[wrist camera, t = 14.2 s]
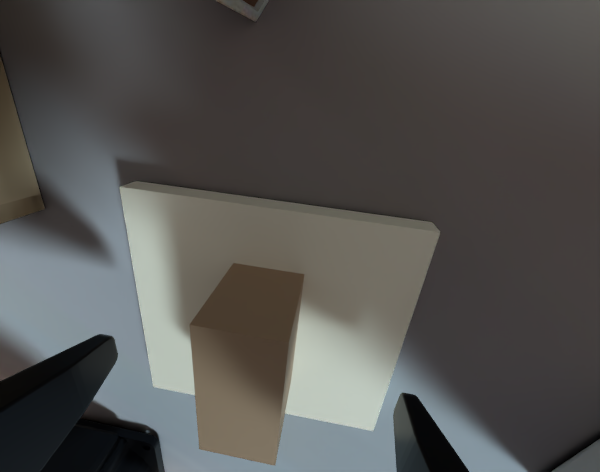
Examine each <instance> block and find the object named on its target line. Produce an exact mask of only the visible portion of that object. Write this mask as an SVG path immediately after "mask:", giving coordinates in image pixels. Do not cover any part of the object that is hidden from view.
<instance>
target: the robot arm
mask: <svg viewBox="0 0 600 472" xmlns="http://www.w3.org/2000/svg"><path fill="white" fill-rule="evenodd" d="M117 357H118V353H117V349H116V344H115V340H114V338H113V337H112V336H109V335H104V334H99V335H96V336H94V337H92V338H90V339H88V340H86V341H84V342H81V343H79V344H77V345H75V346H73V347H71V348H69V349H67V350H65V351H63V352H61V353H59V354H56V355H54V356H52V357H50V358H48V359H46V360H44V361H42V362H40V363H38V364H36V365H34V366H31V367H29V368H27V369H25V370H23V371H21V372H19V373H17V374H15V375H13V376H11V377H8V378H6V379H4V380H2V381H0V472H164V467H163V461H162V455H161V449H160V444H159V440H158V439H157V438H156V437H155V436H153V435H150V434H146V433H141V432H137V431H132V430H128V429H123V428H119V427H114V426H110V425H105V424H101V423H96V422H92V421H87V420H82V419H80V417H81V416H82V415H83V413H84V412H85V410H86V409H87V407H88V406H89V404H90V403H91V401H92V400H93V398H94V396H95V395H96V393H97V392H98V390H99V388H100V387H101V385H102V384H103V382H104V380H105V379H106V377H107V376H108V374H109V372H110V371H111V369H112V368H113V366H114V364H115V363H116V360H117ZM393 420H394V436H395V452H396V467H397V472H469V471H468V469H467V468H466V466H465V465H464V463H463V462H462V460H461V459H460V458H459V456H458V455H457V453H456V452H455V450H454V449H453V448H452V446H451V445H450V443H449V442H448V440H447V439H446V437H445V436H444V435H443V433H442V432H441V430H440V429H439V427H438V426H437V424H436V423H435V422H434V420H433V419H432V417H431V416H430V414H429V413H428V412H427V410H426V409H425V407H424V406H423V404H422V403H421V401H420V400H419V399H418V397H417V396H415V395H413V394H408V393H401V394H400V396H399V399H398V401H397V404H396V407H395V409H394V415H393Z"/></svg>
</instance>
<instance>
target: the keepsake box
mask: <svg viewBox="0 0 600 472" xmlns="http://www.w3.org/2000/svg"><path fill="white" fill-rule="evenodd" d="M44 209H45V207H44V204H43V201H42V197H41V194H40V190H39V187H38V183H37V180H36V176H35V173H34V169H33V166H32V163H31V159H30V156H29V152H28V149H27V145H26V142H25V138H24V135H23V132H22V128H21V125H20V121H19V118H18V114H17V111H16V107H15V104H14V100H13V97H12V94H11V90H10V87H9V83H8V80H7V76H6V73H5V69H4V66H3V62H2V59H1V56H0V224H1V223H4V222H7V221H10V220H13V219H16V218H20V217H23V216H26V215H29V214H32V213H35V212H38V211H41V210H44Z"/></svg>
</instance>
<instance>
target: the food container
mask: <svg viewBox="0 0 600 472" xmlns="http://www.w3.org/2000/svg"><path fill="white" fill-rule="evenodd" d="M215 1H217V2H219V3H221V4H223V5H225V6H226V7H228V8H230V9H232V10H234V11H236V12H238V13H239V14H241V15H243V16H245V17H247V18H249V19H251V20H252V21H254V22H256V21H257V20H258V18H259V16H260V15H261V13H262V11H263V10H264V8H265V6H266V5H267V3H268V1H269V0H215Z"/></svg>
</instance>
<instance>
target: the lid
mask: <svg viewBox="0 0 600 472" xmlns="http://www.w3.org/2000/svg"><path fill="white" fill-rule="evenodd" d="M119 188H120V194H121V200H122V206H123V212H124V217H125V223H126V229H127V235H128V241H129V247H130V253H131V259H132V264H133V270H134V276H135V282H136V288H137V294H138V300H139V306H140V311H141V317H142V323H143V329H144V335H145V341H146V347H147V352H148V358H149V364H150V370H151V376H152V382H153V387H156V388H161V389H166V390H171V391H176V392H181V393H186V394H191V395H195V400H196V412H197V425H198V437H199V449H201V450H206V451H210V452H215V453H220V454H224V455H229V456H233V457H238V458H243V459H247V460H252V461H256V462H261V463H266V464H270V465H275V463H276V458H277V453H278V447H279V442H280V437H281V431H282V426H283V421H284V415H285V414H290V415H295V416H300V417H305V418H310V419H315V420H320V421H325V422H330V423H335V424H340V425H345V426H350V427H355V428H360V429H365V430H370V431H374V428H375V425H376V422H377V419H378V416H379V413H380V410H381V407H382V404H383V401H384V398H385V395H386V392H387V389H388V386H389V383H390V380H391V377H392V374H393V372H394V369H395V366H396V363H397V360H398V357H399V354H400V351H401V348H402V345H403V342H404V339H405V336H406V333H407V330H408V327H409V324H410V321H411V318H412V315H413V312H414V309H415V306H416V303H417V301H418V298H419V295H420V292H421V289H422V286H423V283H424V280H425V277H426V274H427V271H428V268H429V265H430V262H431V259H432V256H433V253H434V250H435V247H436V244H437V241H438V238H439V235H440V233H441V232H440V231H439V230H438V228H437V227H436V226H435V225H434V224H433V222H427V221H420V220H413V219H406V218H398V217H391V216H384V215H377V214H370V213H363V212H355V211H348V210H341V209H334V208H327V207H320V206H312V205H305V204H298V203H291V202H284V201H276V200H269V199H262V198H255V197H248V196H241V195H233V194H226V193H219V192H212V191H205V190H197V189H190V188H183V187H176V186H169V185H162V184H154V183H147V182H140V181H135V182H132V183H129V184H126V185H123V186H120V187H119Z"/></svg>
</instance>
